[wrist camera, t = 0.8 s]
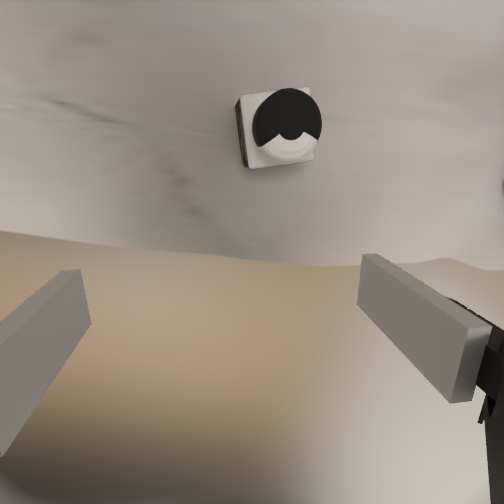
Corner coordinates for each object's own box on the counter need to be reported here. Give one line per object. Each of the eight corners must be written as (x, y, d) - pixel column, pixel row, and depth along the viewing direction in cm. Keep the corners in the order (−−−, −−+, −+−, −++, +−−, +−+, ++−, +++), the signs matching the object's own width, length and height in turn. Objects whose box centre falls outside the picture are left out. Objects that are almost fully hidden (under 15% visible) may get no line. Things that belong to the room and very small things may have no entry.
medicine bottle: (234, 104, 37) (245, 84, 25) (292, 97, 37) (328, 74, 26) (242, 166, 39) (256, 172, 28) (297, 158, 40) (332, 161, 28)
